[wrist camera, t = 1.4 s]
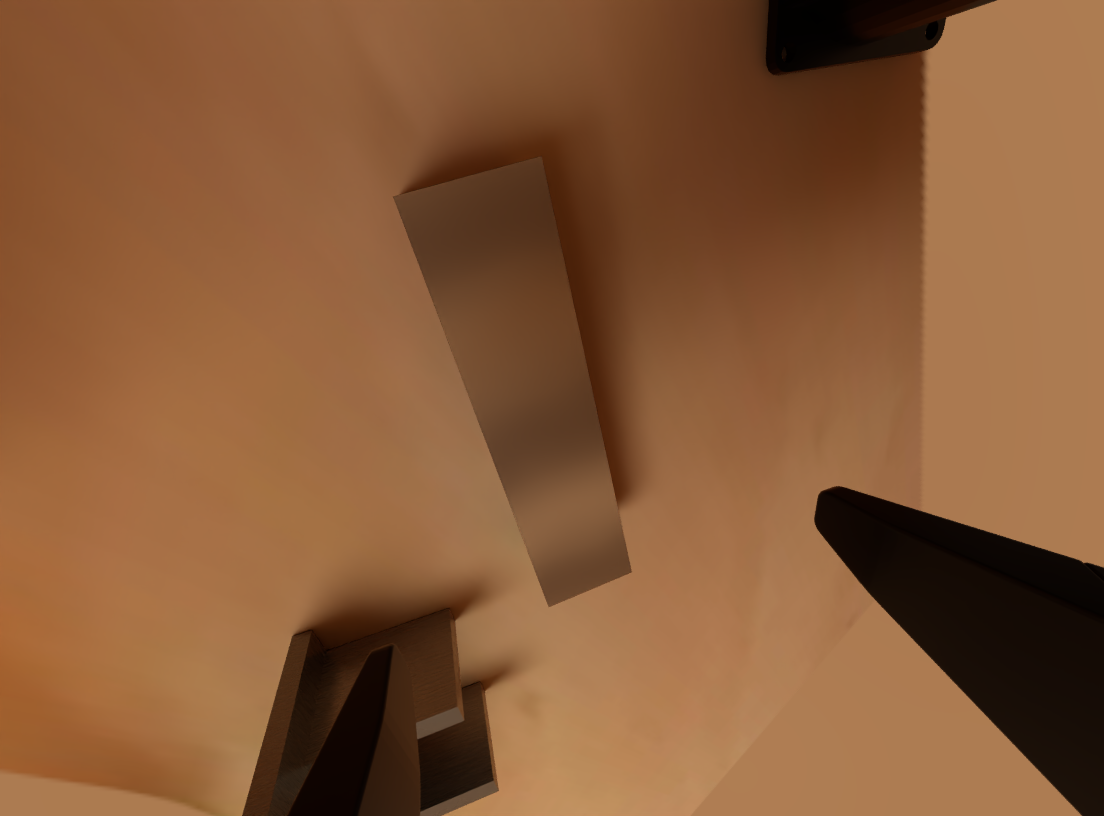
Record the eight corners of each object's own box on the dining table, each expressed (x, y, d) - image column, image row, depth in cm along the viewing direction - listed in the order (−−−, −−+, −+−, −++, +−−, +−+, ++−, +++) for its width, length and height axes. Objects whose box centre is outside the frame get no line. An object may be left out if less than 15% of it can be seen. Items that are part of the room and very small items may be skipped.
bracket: (440, 586, 19) (451, 762, 13) (491, 707, 24) (516, 878, 18) (292, 636, 18) (231, 852, 12) (375, 752, 23) (362, 950, 17)
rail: (398, 196, 13) (393, 196, 10) (512, 165, 13) (541, 156, 10) (528, 544, 20) (548, 607, 17) (599, 515, 21) (631, 572, 18)
